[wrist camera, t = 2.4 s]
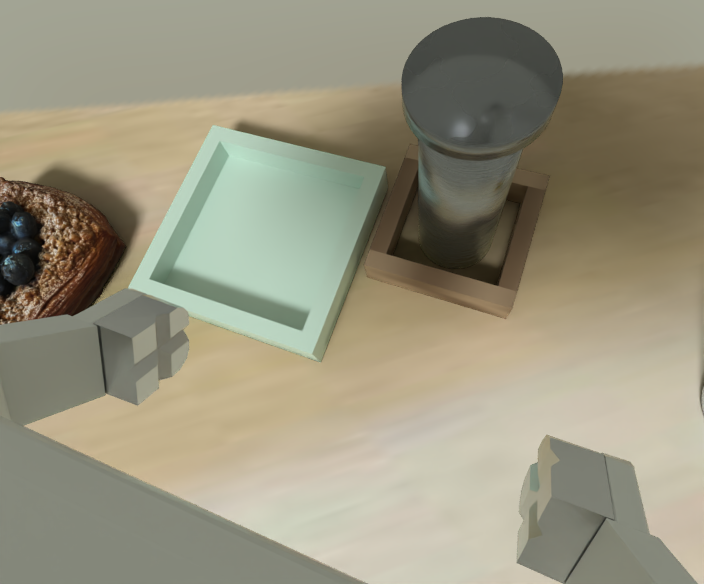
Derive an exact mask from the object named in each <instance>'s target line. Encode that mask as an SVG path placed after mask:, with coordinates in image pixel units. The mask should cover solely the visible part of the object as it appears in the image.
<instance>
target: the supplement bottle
mask: <svg viewBox="0 0 704 584" xmlns="http://www.w3.org/2000/svg"><path fill="white" fill-rule="evenodd" d="M702 409H703V413H704V387H703V390H702Z"/></svg>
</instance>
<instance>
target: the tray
mask: <svg viewBox="0 0 704 584" xmlns="http://www.w3.org/2000/svg"><path fill="white" fill-rule="evenodd" d="M387 190H388V183H387V174H386V167H384V166H380V165H376V164H372V163H368V162H363V161H359V160H355V159H351V158H347V157H343V156H339V155H335V154H330V153H326V152H322V151H318V150H314V149H310V148H306V147H302V146H297V145H293V144H289V143H285V142H281V141H277V140H273V139H269V138H264V137H260V136H256V135H252V134H248V133H244V132H240V131H236V130H231V129H227V128H223V127H219V126H215V125H213V126H212V128H211V130H210V132H209V133H208V135H207V137H206V139H205V141H204V143H203V145H202V147H201V149H200V151H199V153H198V155H197V156H196V158H195V160H194V162H193V164H192V166H191V168H190V170H189V172H188V174H187V176H186V178H185V180H184V181H183V183H182V185H181V187H180V189H179V191H178V193H177V195H176V197H175V199H174V201H173V203H172V205H171V206H170V208H169V210H168V212H167V214H166V216H165V218H164V220H163V222H162V224H161V226H160V228H159V229H158V231H157V233H156V235H155V237H154V239H153V241H152V243H151V245H150V247H149V249H148V251H147V253H146V254H145V256H144V258H143V260H142V262H141V264H140V266H139V268H138V270H137V272H136V274H135V276H134V277H133V279H132V281H131V283H130V285H129V287H128V289H135V290H137V291H140V292H143V293H146V294H148V295H152V296H154V297H157V298H160V299H162V300H165V301H168V302H170V303H173V304H176V305H178V306H181V307H183V308H184V309H185V310H186V311H187V312H188V316H191V317H193V318H196V319H199V320H202V321H205V322H208V323H210V324H213V325H216V326H219V327H222V328H224V329H227V330H230V331H233V332H236V333H239V334H241V335H244V336H247V337H250V338H253V339H256V340H258V341H261V342H264V343H267V344H270V345H273V346H275V347H278V348H281V349H284V350H287V351H290V352H292V353H295V354H298V355H301V356H304V357H307V358H309V359H312V360H315V361H318V362H321V361H322V358H323V355H324V353H325V350H326V348H327V345H328V342H329V340H330V337H331V335H332V332H333V329H334V327H335V324H336V322H337V319H338V317H339V314H340V311H341V309H342V306H343V304H344V301H345V298H346V296H347V293H348V291H349V288H350V285H351V283H352V280H353V278H354V275H355V272H356V270H357V267H358V265H359V262H360V259H361V257H362V254H363V252H364V249H365V247H366V244H367V241H368V239H369V236H370V234H371V231H372V228H373V226H374V223H375V221H376V218H377V215H378V213H379V210H380V208H381V205H382V202H383V200H384V197H385V195H386V192H387Z"/></svg>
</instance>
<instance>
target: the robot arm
mask: <svg viewBox="0 0 704 584" xmlns="http://www.w3.org/2000/svg"><path fill="white" fill-rule="evenodd" d="M188 325H189V319H188V312H187V311H186V310H185V309H184V308H183V307H181V306H178V305H176V304H173V303H170V302H168V301H165V300H162V299H160V298H157V297H154V296H152V295H148V294H146V293H143V292H140V291H137V290H135V289H123V290H121V291H119V292H117V293H115V294H114V295H112V296H110V297H108V298H106V299H104V300H102V301H101V302H99V303H97V304H95V305H93V306H91V307H89V308H87V309H86V310H84V311H82V312H80V313H78V314H76V315H74V316H70V315H61V316H54V317H48V318H41V319H35V320H28V321H22V322H15V323H9V324H2V325H0V584H367V583H365V582H363V581H361V580H359V579H356V578H354V577H352V576H350V575H348V574H345V573H343V572H341V571H339V570H337V569H335V568H332V567H330V566H328V565H326V564H324V563H321V562H319V561H317V560H315V559H313V558H310V557H308V556H306V555H304V554H302V553H300V552H297V551H295V550H293V549H291V548H289V547H286V546H284V545H282V544H280V543H278V542H276V541H273V540H271V539H269V538H267V537H265V536H262V535H260V534H258V533H256V532H254V531H251V530H249V529H247V528H245V527H243V526H241V525H238V524H236V523H234V522H232V521H230V520H227V519H225V518H223V517H221V516H219V515H217V514H214V513H212V512H210V511H208V510H206V509H203V508H201V507H199V506H197V505H195V504H192V503H190V502H188V501H186V500H184V499H182V498H179V497H177V496H175V495H173V494H171V493H168V492H166V491H164V490H162V489H160V488H158V487H155V486H153V485H151V484H149V483H147V482H144V481H142V480H140V479H138V478H136V477H133V476H131V475H129V474H127V473H125V472H123V471H120V470H118V469H116V468H114V467H112V466H109V465H107V464H105V463H103V462H101V461H98V460H96V459H94V458H92V457H90V456H88V455H85V454H83V453H81V452H79V451H77V450H74V449H72V448H70V447H68V446H66V445H63V444H61V443H59V442H57V441H55V440H53V439H50V438H48V437H46V436H44V435H42V434H39V433H37V432H35V431H33V430H31V429H29V428H26V427H24V425H27V424H29V423H32V422H35V421H37V420H40V419H43V418H46V417H48V416H51V415H54V414H56V413H59V412H62V411H64V410H67V409H70V408H73V407H75V406H78V405H81V404H83V403H86V402H89V401H91V400H94V399H97V398H100V397H102V396H105V395H106V394H109V395H111V396H114V397H117V398H119V399H122V400H124V401H127V402H130V403H132V404H135V405H139V404H140V403H142V402H143V401H144V400H145V399H146V398H147V397H149V396H150V395H151V394H152V393H153V392H155V391H156V390H157V389H158V388H159V381H160V380H162V379H166V378H169V377H172V376H173V375H174V374H176V373H177V372H178V371H179V370H180V369H181V367H182V365H183V364H184V362H185V360H186V359H187V355H188V351H189V339H188V338H187V336H186V334H185V332H184V329H185V328H186V327H187V326H188ZM105 393H106V394H105ZM519 513H520V515H521V517H522V518H523V522H522V524H521V526H520V528H519V531H518V541H517V563H518V564H520V565H523V566H525V567H527V568H529V569H532V570H534V571H536V572H538V573H541V574H543V575H545V576H547V577H550V578H552V579H554V580H556V581H559V582H561V583H563V584H697V582H696V581H695V580H694V579H693V578H692V576H691V575H690V574H689V573H688V572H687V571H686V569H685V568H684V567H683V566H682V565H681V563H680V562H679V561H678V560H677V559H676V558H675V556H674V555H673V554H672V553H671V552H670V551H669V549H668V548H667V547H666V546H665V545H664V543H663V542H662V541H661V540H660V539H659V538H658V537H655V536H652V535H650V533H649V529H648V524H647V520H646V516H645V512H644V508H643V503H642V499H641V495H640V491H639V486H638V482H637V478H636V474H635V470H634V466H633V465H632V464H631V462H629V461H626V460H623V459H620V458H617V457H614V456H611V455H608V454H604V453H599V452H596V451H593V450H590V449H587V448H584V447H581V446H578V445H575V444H573V443H570V442H567V441H564V440H561V439H558V438H555V437H552V436H549V435H546V436H545V438H544V439H543V440H542V442H541V444H540V446H539V448H538V462H537V463H535V464H532V465H530V468H529V470H528V472H527V475H526V477H525V480H524V483H523V487H522V490H521V496H520V503H519Z"/></svg>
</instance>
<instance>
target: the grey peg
mask: <svg viewBox="0 0 704 584" xmlns="http://www.w3.org/2000/svg"><path fill="white" fill-rule="evenodd" d="M562 85H563V73H562V67H561V64H560V61H559V58H558V56H557V54H556V52H555V51H554V49H553V48H552V46H551V45H550V44H549V43H548V42H547V41H546V40H545V39H544V38H543V37H542V36H541V35H539V34H538V33H537V32H535V31H534V30H532V29H530V28H528V27H526V26H524V25H522V24H520V23H517V22H513V21H510V20H505V19H500V18H491V17H480V18H470V19H465V20H460V21H457V22H453V23H450V24H448V25H445V26H443V27H441V28H439V29H437V30H435V31H434V32H432V33H431V34H429V35H428V36H427V37H425V38H424V39H423V40H422V41H421V42H420V43H419V44H418V45H417V46H416V47H415V48H414V49H413V51H412V52H411V54H410V55H409V57H408V59H407V61H406V63H405V66H404V69H403V74H402V105H403V112H404V116H405V119H406V121H407V123H408V125H409V127H410V129H411V130H412V132H413V133H414V134H415V136H416V137H417V138H418V207H419V243H420V246H421V249H422V251H423V252H424V254H425V255H426V256H427V257H428V258H429V259H430V260H431V261H432V262H434V263H435V264H437V265H439V266H442V267H445V268H451V269H460V268H465V267H469V266H471V265H474V264H475V263H477V262H478V261H480V260H481V259H482V258H483V257H484V256H485V255H486V253H487V252H488V250H489V248H490V245H491V243H492V240H493V237H494V234H495V231H496V228H497V225H498V222H499V219H500V216H501V213H502V210H503V207H504V204H505V201H506V198H507V195H508V192H509V189H510V186H511V183H512V180H513V177H514V174H515V171H516V168H517V165H518V162H519V159H520V156H521V153H522V150H523V148H525V147H526V146H528V145H529V144H531V143H532V142H533V141H534V140H535V139H536V138H537V137H539V136H540V134H541V133H542V132H543V131H544V129H545V128H546V127H547V125H548V123H549V121H550V119H551V117H552V114H553V112H554V109H555V107H556V104H557V101H558V99H559V96H560V94H561V89H562Z"/></svg>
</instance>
